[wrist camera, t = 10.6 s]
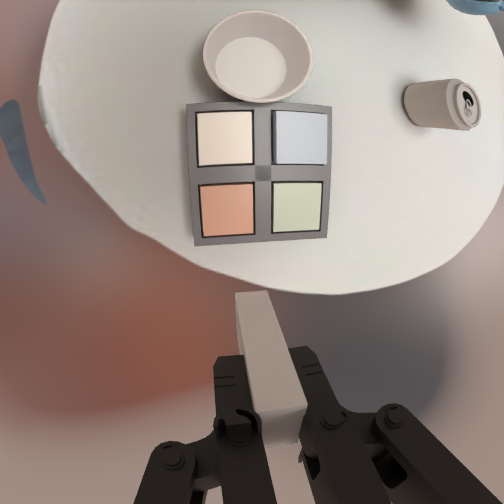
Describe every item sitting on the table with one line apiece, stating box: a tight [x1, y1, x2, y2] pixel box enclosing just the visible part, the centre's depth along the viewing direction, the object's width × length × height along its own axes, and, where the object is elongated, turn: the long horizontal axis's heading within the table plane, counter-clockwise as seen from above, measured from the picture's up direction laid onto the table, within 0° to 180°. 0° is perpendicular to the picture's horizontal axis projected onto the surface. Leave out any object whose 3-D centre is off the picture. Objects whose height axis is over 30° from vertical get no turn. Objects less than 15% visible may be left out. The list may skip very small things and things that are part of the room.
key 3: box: [272, 111, 327, 164], centre depth 29 cm, size 6×6×2 cm
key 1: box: [271, 181, 322, 232], centre depth 34 cm, size 6×6×2 cm
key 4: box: [198, 112, 252, 165], centre depth 29 cm, size 6×6×2 cm
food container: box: [203, 10, 313, 103], centre depth 26 cm, size 12×12×6 cm
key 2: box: [200, 182, 253, 236], centre depth 33 cm, size 6×6×2 cm
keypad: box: [186, 102, 332, 246], centre depth 32 cm, size 17×17×4 cm
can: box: [404, 79, 481, 131], centre depth 27 cm, size 8×8×12 cm
